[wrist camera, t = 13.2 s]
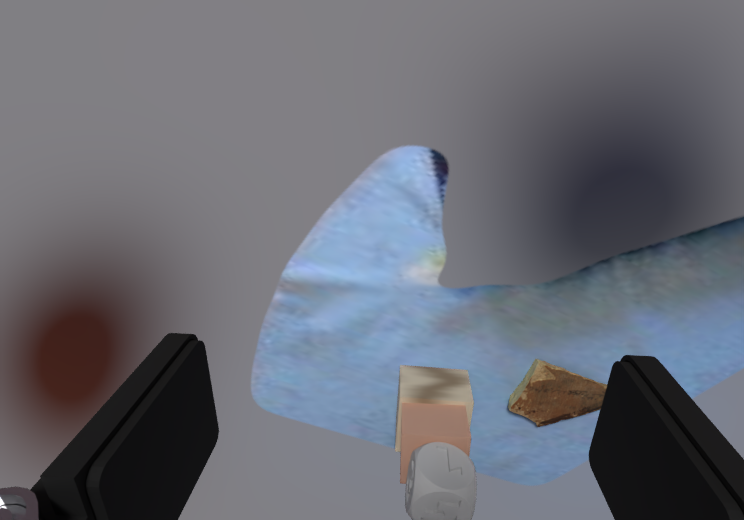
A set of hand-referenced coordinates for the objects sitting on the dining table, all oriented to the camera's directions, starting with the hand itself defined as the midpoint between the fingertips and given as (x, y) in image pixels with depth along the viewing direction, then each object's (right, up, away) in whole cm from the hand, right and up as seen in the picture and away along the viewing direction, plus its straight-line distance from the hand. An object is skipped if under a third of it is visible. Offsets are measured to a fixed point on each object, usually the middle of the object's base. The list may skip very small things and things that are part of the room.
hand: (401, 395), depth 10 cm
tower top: (+5, -13, +33) cm, 36 cm away
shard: (+19, -9, +37) cm, 42 cm away
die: (+5, -15, +30) cm, 34 cm away
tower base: (+6, -11, +38) cm, 40 cm away
